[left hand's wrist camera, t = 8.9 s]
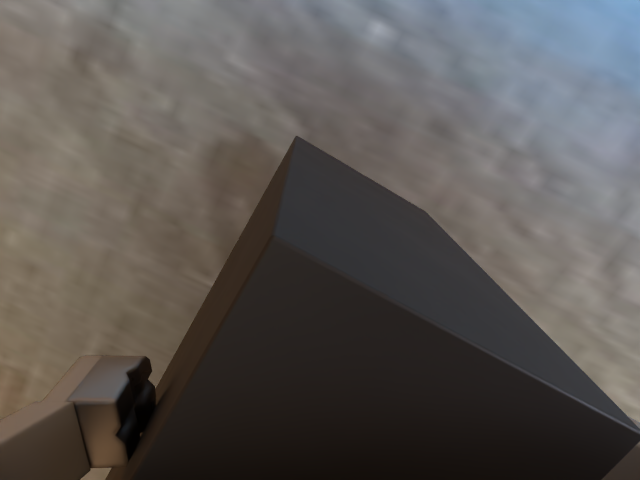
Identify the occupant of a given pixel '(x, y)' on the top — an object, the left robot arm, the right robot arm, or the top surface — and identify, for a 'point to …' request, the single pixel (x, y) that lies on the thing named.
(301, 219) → the box
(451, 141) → the top surface
